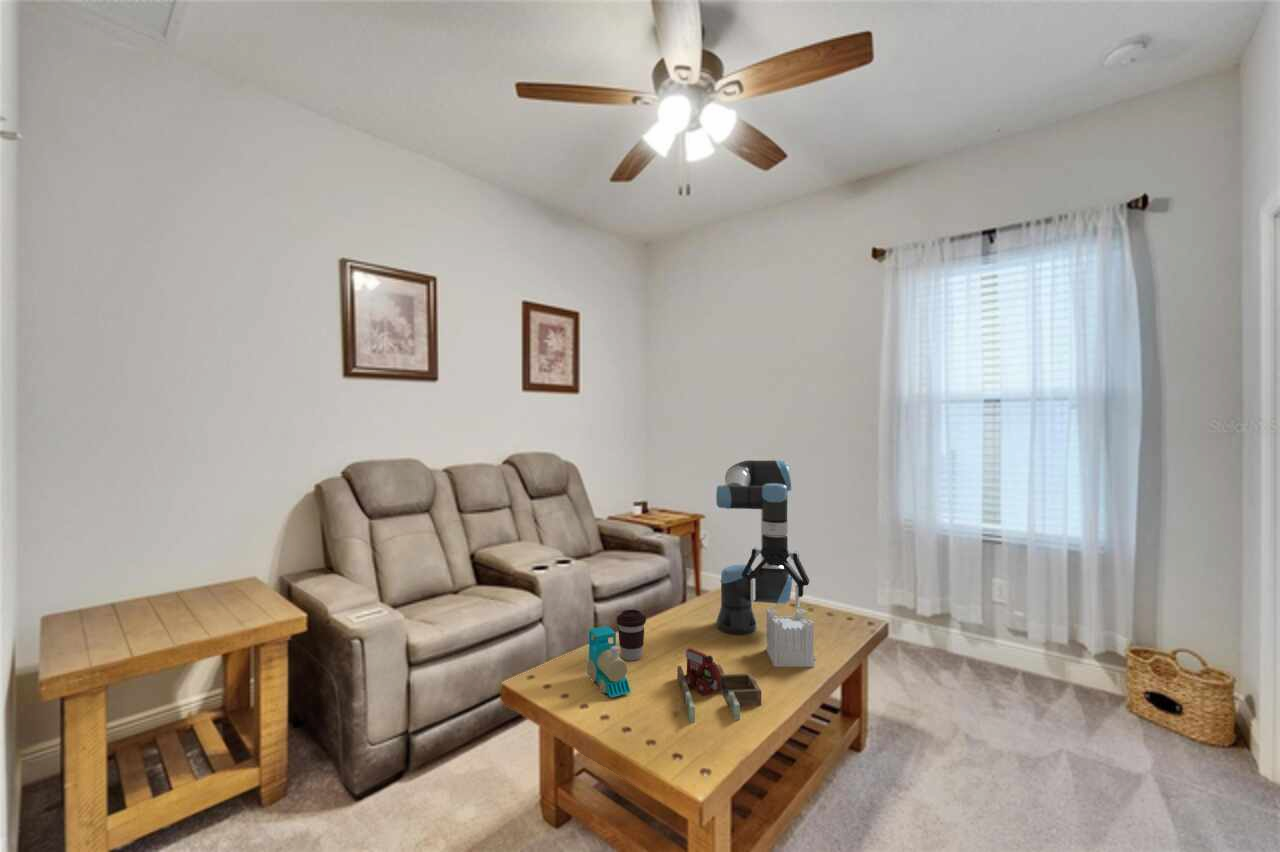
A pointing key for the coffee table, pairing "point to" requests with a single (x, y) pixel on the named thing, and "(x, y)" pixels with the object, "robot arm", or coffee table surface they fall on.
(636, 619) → the coffee cup
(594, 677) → the toy train
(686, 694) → the channel
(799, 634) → the castle model
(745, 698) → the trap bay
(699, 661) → the toy fire truck
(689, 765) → the coffee table surface
